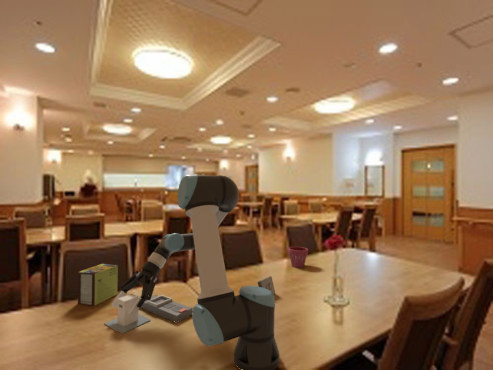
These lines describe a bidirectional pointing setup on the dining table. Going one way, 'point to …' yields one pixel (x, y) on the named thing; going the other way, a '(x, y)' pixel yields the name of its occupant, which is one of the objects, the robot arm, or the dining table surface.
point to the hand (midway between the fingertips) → (122, 310)
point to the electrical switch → (267, 284)
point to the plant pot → (298, 256)
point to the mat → (123, 329)
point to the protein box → (97, 284)
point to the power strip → (167, 308)
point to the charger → (126, 309)
